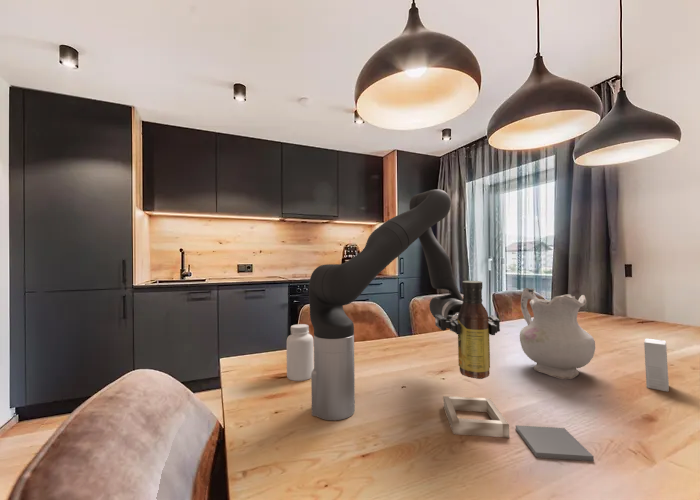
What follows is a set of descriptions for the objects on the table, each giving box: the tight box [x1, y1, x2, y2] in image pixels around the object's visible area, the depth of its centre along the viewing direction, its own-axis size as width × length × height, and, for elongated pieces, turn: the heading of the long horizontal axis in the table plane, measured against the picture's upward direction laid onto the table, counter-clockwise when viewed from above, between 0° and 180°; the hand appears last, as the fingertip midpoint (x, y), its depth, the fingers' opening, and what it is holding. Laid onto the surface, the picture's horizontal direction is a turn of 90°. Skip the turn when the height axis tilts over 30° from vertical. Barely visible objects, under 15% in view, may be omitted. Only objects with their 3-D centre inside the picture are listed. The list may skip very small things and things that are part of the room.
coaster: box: [515, 424, 595, 462], centre depth 57 cm, size 9×9×1 cm
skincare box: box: [643, 338, 670, 393], centre depth 83 cm, size 6×4×12 cm
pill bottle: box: [286, 323, 314, 382], centre depth 93 cm, size 8×8×15 cm
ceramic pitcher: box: [519, 287, 596, 380], centre depth 97 cm, size 22×20×25 cm
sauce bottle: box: [457, 280, 491, 380], centre depth 67 cm, size 7×6×20 cm
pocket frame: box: [442, 395, 510, 439], centre depth 66 cm, size 10×11×2 cm
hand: (476, 329), depth 64 cm, fingers closed on sauce bottle, 6 cm apart
